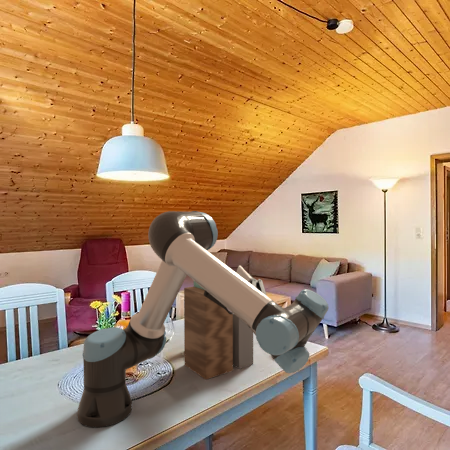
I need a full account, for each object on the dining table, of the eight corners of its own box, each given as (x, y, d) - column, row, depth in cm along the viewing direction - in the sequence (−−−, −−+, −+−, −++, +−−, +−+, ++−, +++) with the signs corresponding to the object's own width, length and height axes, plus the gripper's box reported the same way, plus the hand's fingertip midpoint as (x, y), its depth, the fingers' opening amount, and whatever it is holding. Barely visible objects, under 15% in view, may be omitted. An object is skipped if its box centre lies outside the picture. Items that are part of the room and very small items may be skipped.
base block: (239, 368, 133) (239, 315, 132) (220, 358, 143) (220, 309, 142) (253, 364, 137) (253, 312, 137) (234, 354, 147) (234, 306, 146)
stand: (205, 379, 124) (205, 294, 123) (184, 365, 136) (184, 287, 136) (232, 370, 131) (232, 290, 130) (210, 357, 143) (210, 284, 143)
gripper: (218, 339, 88) (182, 285, 103) (289, 321, 103) (248, 276, 117) (227, 317, 85) (188, 264, 99) (298, 301, 99) (255, 258, 114)
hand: (220, 271), depth 108 cm, fingers open, 13 cm apart
